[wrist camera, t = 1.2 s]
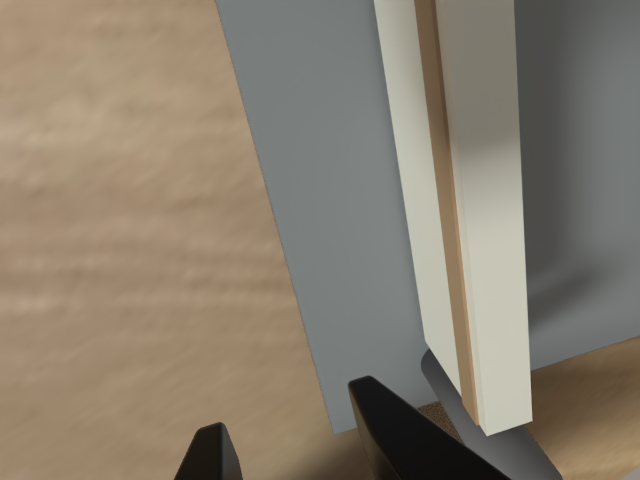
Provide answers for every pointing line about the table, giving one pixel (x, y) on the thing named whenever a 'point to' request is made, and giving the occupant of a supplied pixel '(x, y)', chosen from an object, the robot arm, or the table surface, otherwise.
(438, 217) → the gate
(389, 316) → the board
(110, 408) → the table surface
